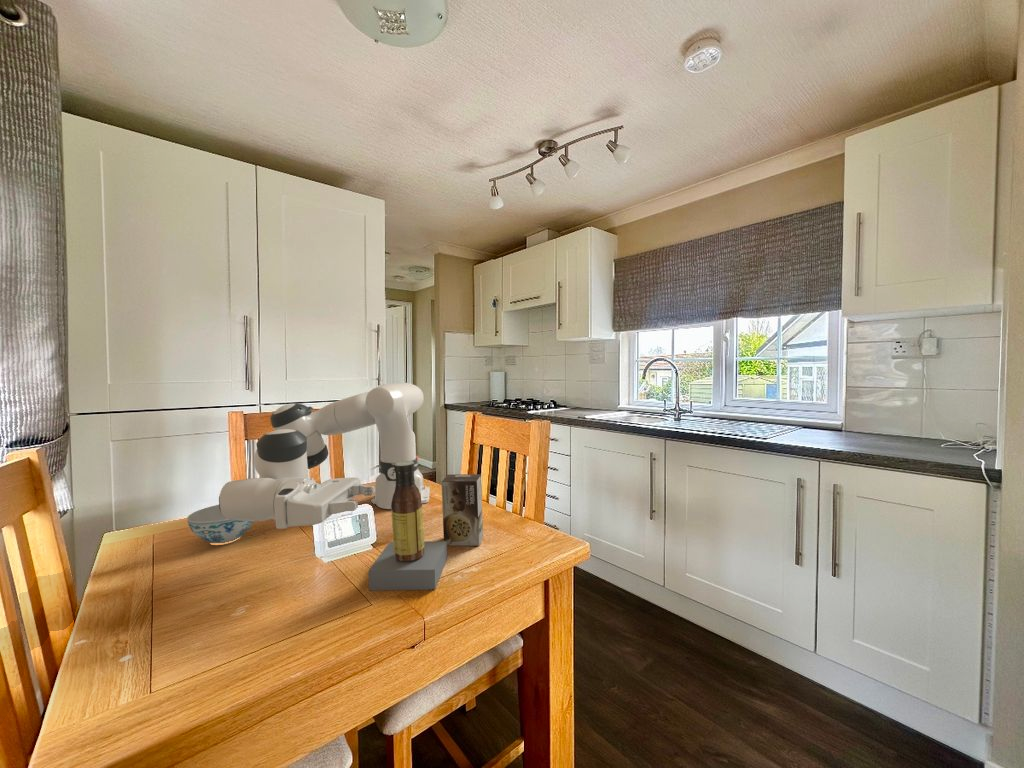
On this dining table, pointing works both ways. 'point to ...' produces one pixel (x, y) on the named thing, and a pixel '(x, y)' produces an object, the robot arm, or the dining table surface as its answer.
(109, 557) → the dining table surface
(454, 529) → the coffee box
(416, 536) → the sauce bottle
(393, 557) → the stand
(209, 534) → the chinaware
